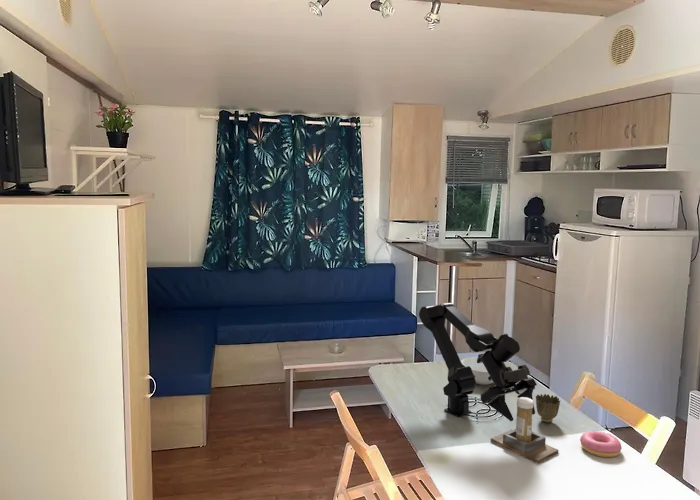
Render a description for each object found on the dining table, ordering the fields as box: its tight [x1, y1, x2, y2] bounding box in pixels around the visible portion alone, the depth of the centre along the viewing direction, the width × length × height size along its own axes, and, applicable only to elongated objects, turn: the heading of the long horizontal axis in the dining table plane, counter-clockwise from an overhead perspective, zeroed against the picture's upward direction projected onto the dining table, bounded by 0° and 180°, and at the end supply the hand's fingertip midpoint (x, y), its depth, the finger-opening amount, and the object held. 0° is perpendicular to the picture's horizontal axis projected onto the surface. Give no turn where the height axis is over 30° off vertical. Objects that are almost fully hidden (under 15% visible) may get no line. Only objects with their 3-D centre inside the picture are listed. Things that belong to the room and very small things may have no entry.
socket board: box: [490, 428, 559, 464], centre depth 157 cm, size 16×10×4 cm, turn 37°
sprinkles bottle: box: [515, 397, 534, 443], centre depth 156 cm, size 5×5×14 cm
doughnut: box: [579, 430, 623, 458], centre depth 156 cm, size 11×11×4 cm
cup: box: [535, 393, 561, 424], centre depth 174 cm, size 8×7×8 cm
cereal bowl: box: [460, 356, 494, 386], centre depth 210 cm, size 17×17×7 cm
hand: (523, 417), depth 157 cm, fingers open, 9 cm apart
